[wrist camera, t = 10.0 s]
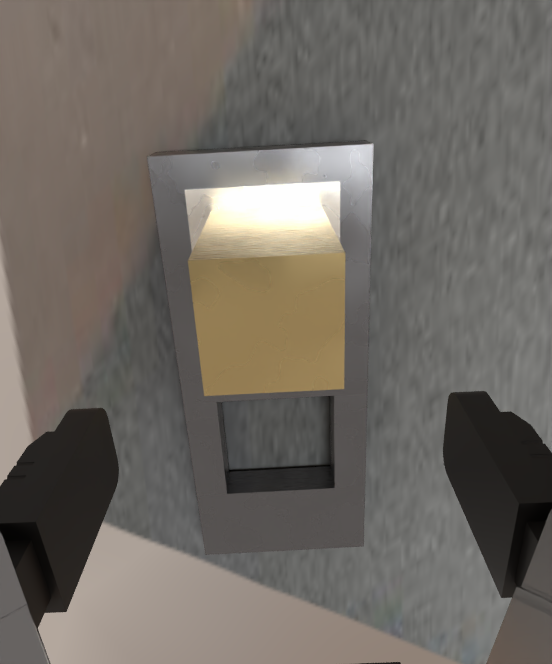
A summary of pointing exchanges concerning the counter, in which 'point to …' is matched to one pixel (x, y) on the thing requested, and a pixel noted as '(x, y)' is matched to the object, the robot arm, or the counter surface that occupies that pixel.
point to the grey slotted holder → (345, 404)
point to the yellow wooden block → (269, 301)
